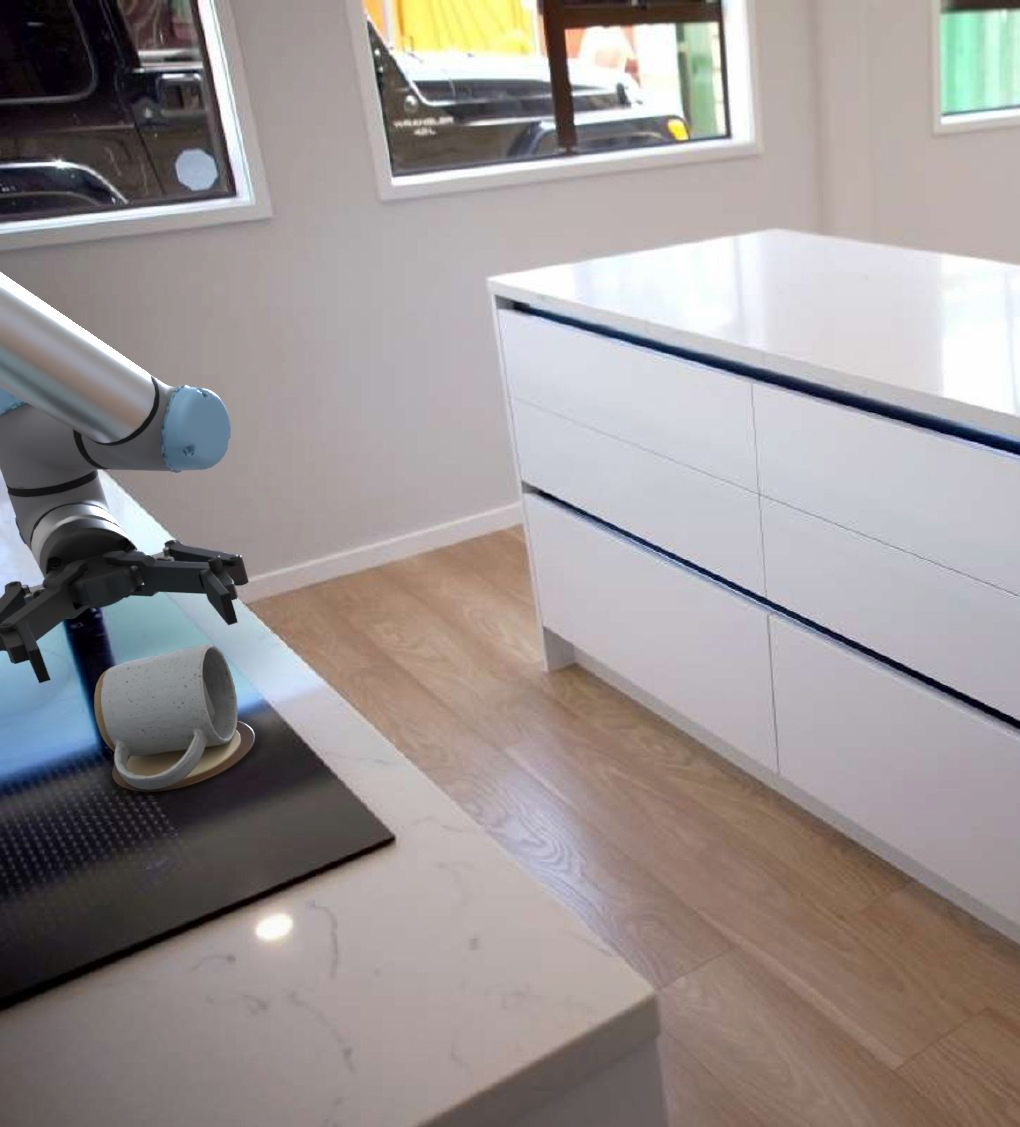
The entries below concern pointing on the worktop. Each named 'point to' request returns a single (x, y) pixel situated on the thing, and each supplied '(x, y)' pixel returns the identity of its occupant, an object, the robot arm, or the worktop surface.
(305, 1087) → the worktop surface
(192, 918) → the worktop surface
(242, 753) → the cream coaster
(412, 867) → the worktop surface
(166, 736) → the ceramic mug
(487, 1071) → the worktop surface
